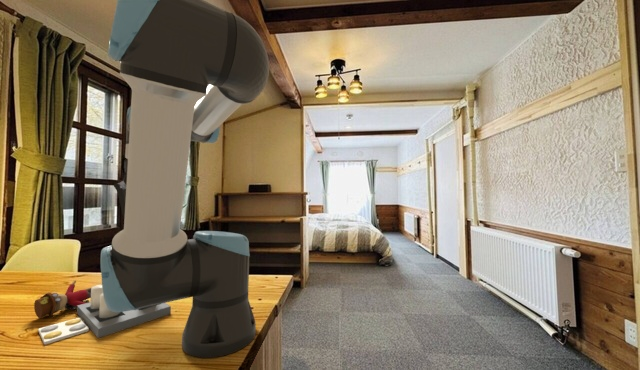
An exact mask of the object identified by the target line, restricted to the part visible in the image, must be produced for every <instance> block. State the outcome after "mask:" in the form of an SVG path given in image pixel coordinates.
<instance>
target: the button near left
mask: <svg viewBox="0 0 640 370" xmlns="http://www.w3.org/2000/svg"><path fill="white" fill-rule="evenodd" d="M119 313H120V312H112V311H110V310H109V309H108V308H107V307H106V304H105V300H104V295H103V293H102V294H101V295H100V310H99V317H100V318H108V317H113V316H115V315H118V314H119Z"/></svg>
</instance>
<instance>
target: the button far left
mask: <svg viewBox="0 0 640 370" xmlns="http://www.w3.org/2000/svg"><path fill="white" fill-rule="evenodd" d="M90 288H91V298H90V302H91V304H90V308H91V309H100V295H101V294H102V293H103V288H102V285H101V284H98V285H93V286H92V287H90Z"/></svg>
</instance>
